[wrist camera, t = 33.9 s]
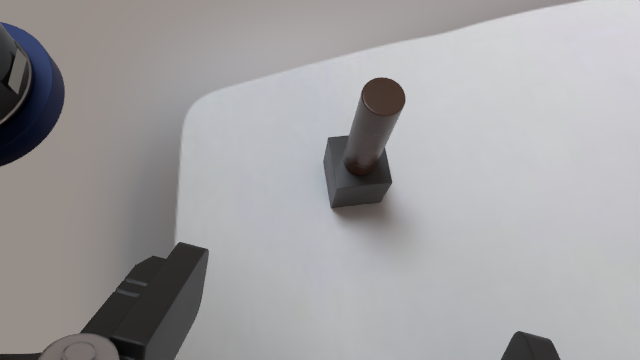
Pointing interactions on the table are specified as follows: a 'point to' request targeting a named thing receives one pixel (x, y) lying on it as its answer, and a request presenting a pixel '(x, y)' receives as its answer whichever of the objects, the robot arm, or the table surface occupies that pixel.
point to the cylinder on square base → (364, 147)
